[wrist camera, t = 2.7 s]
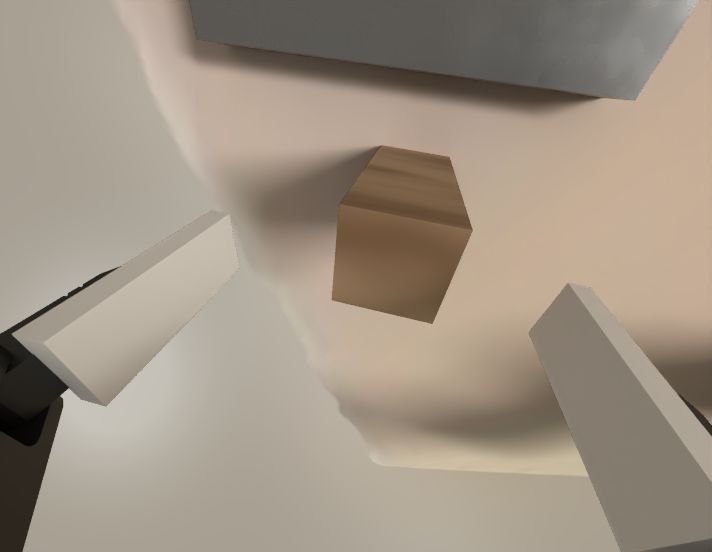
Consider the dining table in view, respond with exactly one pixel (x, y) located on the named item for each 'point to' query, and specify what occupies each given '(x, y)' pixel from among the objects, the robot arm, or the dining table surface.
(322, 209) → the dining table surface
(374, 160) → the walnut block
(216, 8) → the steel rail
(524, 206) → the dining table surface
